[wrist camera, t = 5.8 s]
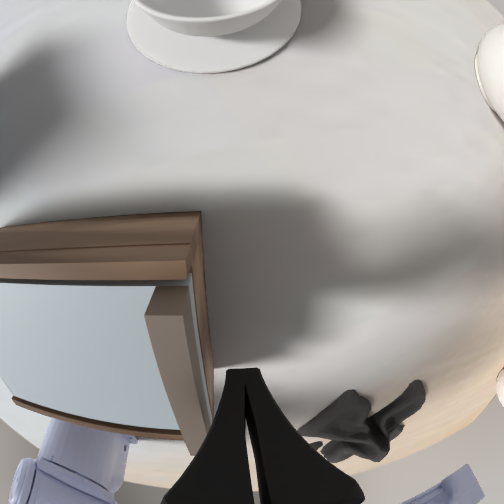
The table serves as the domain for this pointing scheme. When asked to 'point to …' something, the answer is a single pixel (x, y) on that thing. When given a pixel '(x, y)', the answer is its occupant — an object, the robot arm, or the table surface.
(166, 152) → the table surface
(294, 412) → the table surface
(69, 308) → the lid
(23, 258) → the walnut box
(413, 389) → the cloth
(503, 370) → the air blower bulb
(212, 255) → the table surface
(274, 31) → the teacup
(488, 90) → the lidded jar
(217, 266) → the table surface
